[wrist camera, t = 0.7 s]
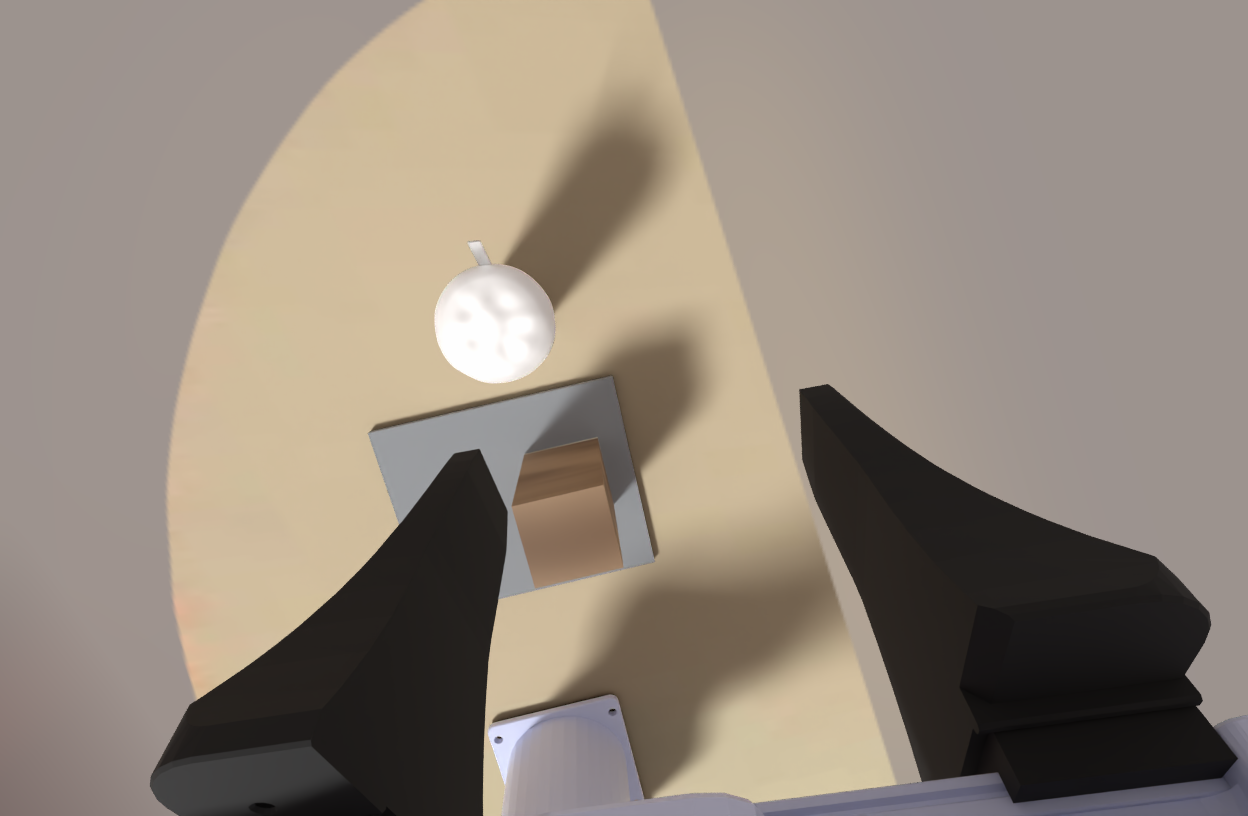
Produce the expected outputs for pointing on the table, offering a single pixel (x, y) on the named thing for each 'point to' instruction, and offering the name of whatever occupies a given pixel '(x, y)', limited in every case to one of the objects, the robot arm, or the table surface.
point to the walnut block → (566, 513)
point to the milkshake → (494, 321)
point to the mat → (519, 459)
